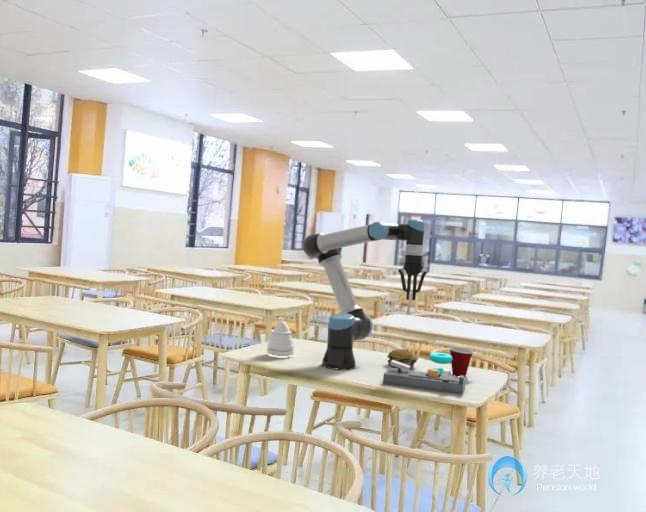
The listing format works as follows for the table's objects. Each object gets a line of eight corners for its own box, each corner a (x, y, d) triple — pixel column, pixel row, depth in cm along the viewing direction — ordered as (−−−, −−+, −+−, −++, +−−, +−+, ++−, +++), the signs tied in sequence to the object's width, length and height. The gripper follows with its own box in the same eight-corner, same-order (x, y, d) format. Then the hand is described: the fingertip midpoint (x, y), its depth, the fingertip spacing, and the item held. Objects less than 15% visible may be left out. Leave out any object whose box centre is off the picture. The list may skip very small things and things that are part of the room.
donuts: (429, 355, 260) (430, 351, 270) (427, 378, 261) (428, 373, 271) (452, 357, 258) (452, 353, 268) (450, 380, 259) (451, 375, 268)
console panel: (383, 383, 246) (384, 367, 246) (389, 376, 259) (390, 362, 258) (462, 394, 237) (463, 378, 236) (465, 386, 249) (466, 371, 249)
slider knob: (442, 379, 240) (443, 370, 240) (443, 377, 244) (444, 368, 244) (448, 380, 239) (449, 371, 239) (449, 378, 243) (450, 369, 243)
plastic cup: (472, 379, 263) (474, 352, 263) (447, 376, 265) (449, 350, 265) (471, 374, 274) (473, 348, 274) (447, 371, 276) (449, 345, 276)
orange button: (426, 382, 248) (427, 370, 248) (427, 379, 253) (428, 368, 252) (437, 383, 247) (438, 372, 246) (439, 381, 251) (440, 369, 251)
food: (422, 369, 278) (423, 352, 277) (395, 370, 273) (396, 352, 273) (408, 362, 291) (409, 346, 290) (381, 363, 286) (383, 346, 285)
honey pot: (263, 353, 292) (265, 316, 291) (287, 352, 297) (290, 316, 296) (272, 358, 280) (274, 320, 279) (297, 358, 285) (300, 320, 285)
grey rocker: (390, 364, 253) (391, 361, 253) (391, 363, 257) (392, 359, 256) (408, 370, 251) (409, 367, 251) (409, 369, 254) (410, 365, 254)
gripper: (397, 253, 265) (394, 306, 266) (427, 255, 261) (423, 309, 262) (401, 253, 273) (397, 305, 274) (429, 255, 269) (426, 307, 270)
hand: (410, 307), depth 268 cm, fingers closed
